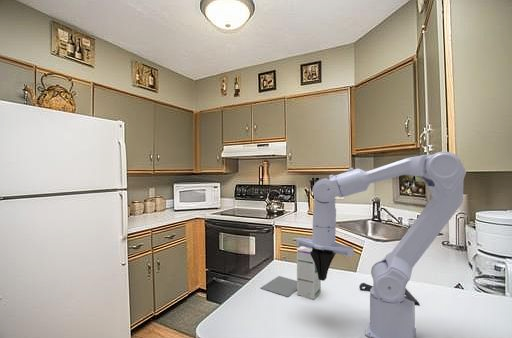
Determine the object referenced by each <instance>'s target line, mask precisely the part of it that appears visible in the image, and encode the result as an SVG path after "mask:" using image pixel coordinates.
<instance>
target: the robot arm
mask: <svg viewBox="0 0 512 338" xmlns="http://www.w3.org/2000/svg"><path fill="white" fill-rule="evenodd" d="M466 174H467V171H466V169H465V167H464V164H463V163H462V161H461V159H460V158H459V156H457V154H455V153H452V152H450V151H438V152H436V153H433V154H422V155H417V156H411V157H406V158H403V159H401V160H397V161H395V162H391V163H389V164H385V165H382V166H380V167H376V168H373V169H371V170H367V171H365V170H363V169H361V168H356V169H354V167H350V168H348V169H347V171H344V172H342V173H340V174H336V175H334V174H330V175H329V176H328V177H329V179H328V178H321V179H319V180H317V181H316V182H315V183H314V185H313V186H312V190H311V191H312V195H313V197H314V199H313V208H312V235H311V236H312V238H306V237H297V238H295V247H301V246H303V247H308V248H312V251H311V252H310V254H311V257H312V259H313V261H314V263H315V266H316V269H317V273H318V279H319V280H321V281H322V282H324V281H325V280H327V276H328V272H329V269H330V266H331V263H332V261H333V260H334V258H335V256H336V254H338V255H341V256H346V257H348V258H352V257H353V256H354V254H355V253H354V250H355V249H354V247H351V246H348V245H345V244H341V243H337V242H336V229H337V228H336V227H337V225H336V224H337V208H336V197H339V198H344V197H348V196H352V195H355V194H359V193H362V192H365V191H367V190H368V189H369V187H370V185H371V184H373V183H377V182H382V181H385V180H389V179H393V178H398V177H401V176H404V175H405V176H406V175H407V176H414V177H421V179H422V180H423V181H424V182H425V184H427V187H428V190H429V193H430V195H431V199H430V200H429V201H428V203H427V204H426V205H425V206H424V208H423V209H422V211H421V212H420V214H419V215H418V216H417V217H416V219H415V220H414V222H413V223H412V224H411V225H410V227H409V228H408V230H407V231H406V232H405V234H404V236H402V238H401V239H400V240H399V242H397V245H396V246H395V247H394V248H393V250H392V251H391V252H388V254H386V255H385V256H384V258H382V259H381V260H380V261H377V262H375V263H374V264H373V265H372V267H371V271H370V273H371V278H372V282H373V283H372V284H373V285H372V286H373V287H372V288H371V289H370V291H369V323H368V325H367V327H366V330H365V333H364V336H367V337H368V338H369V337H370V338H416V337H417V328H416V327H415V326H416V303H415V302H413V301H410V300H408V299H406V298H404V296H405V295H404V294H405V288H406V289H407V287H406V286H407V284H408V283H409V281H410V280H411V277H412V272H413V269H414V267H415V266H416V264H417V263H418V261H419V260H420V259H421V258H422V256H423V255H424V254H425V252H426V251H427V250H428V248H429V247H430V246H431V245H432V243H433V242H434V241H435V239H436V238H437V237H438V236H439V234H440V233H441V232H442V231H443V229H444V228H445V227H446V225H447V224H448V222H449V221H450V220H451V219H452V218H453V216H454V215H455V214H456V212H457V211H458V210H459V208H460V207H461V206H462V204H463V202H464V179H465V176H466Z"/></svg>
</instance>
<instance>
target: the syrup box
mask: <svg viewBox="0 0 512 338" xmlns="http://www.w3.org/2000/svg"><path fill="white" fill-rule="evenodd" d="M311 251H312V248H308V247H303V246H298V247H297V249H296V281H297V291H296V295H297V296H301V297H303V298H306V299H311V300H315V299H317V297H319V294H320V293H321V292H322V291H321V287H322V286H321V281H322V280H319V279H318V273H317V269H316V266H315V263H314V261H313V259H312V257H311V254H310V252H311Z"/></svg>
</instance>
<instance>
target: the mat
mask: <svg viewBox="0 0 512 338" xmlns="http://www.w3.org/2000/svg"><path fill="white" fill-rule="evenodd" d="M260 289H261V290H263V291H267V292H270V293H272V294H276V295H279V296H282V297H286V298H289V297H291V296H292V295H293V294H294V293H296V292H297V279H296V280H295V279H291V278H288V277H284V276H281V275H278V276H276V277H274V278H273V279H272V280H270V281H269V282H267V283H266V284H264V285H262V286H261V287H260Z"/></svg>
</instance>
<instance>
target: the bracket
mask: <svg viewBox="0 0 512 338" xmlns="http://www.w3.org/2000/svg"><path fill="white" fill-rule="evenodd" d="M358 287H359V290H360V291H362V292H370V289H371V288H372V287H373V285H370V284H368V283H366V282H362V283H360V284H359V286H358ZM404 298H406V299H408V300H410V301H413V302H415V305H417V306H419V307H420V305H421V304H420V303H419V301H418V300H417V299H416V298H415V297H414V296H413V295H412V293H411V292H410V291H409V290H408V289H407V287H406V288H405V294H404Z"/></svg>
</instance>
